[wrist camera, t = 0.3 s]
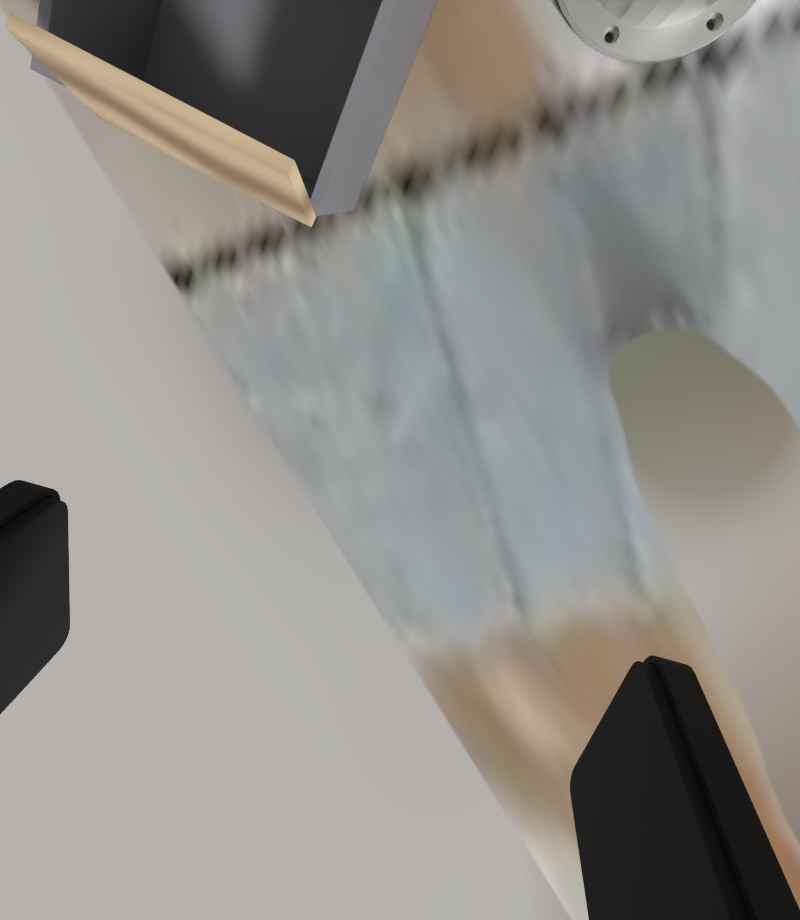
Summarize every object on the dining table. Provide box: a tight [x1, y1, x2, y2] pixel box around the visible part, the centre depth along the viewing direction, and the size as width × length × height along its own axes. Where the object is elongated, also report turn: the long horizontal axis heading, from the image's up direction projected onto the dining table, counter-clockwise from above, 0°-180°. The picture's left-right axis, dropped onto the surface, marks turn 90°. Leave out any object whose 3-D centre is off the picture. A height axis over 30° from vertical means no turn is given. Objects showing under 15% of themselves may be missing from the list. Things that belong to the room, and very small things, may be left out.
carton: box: [31, 0, 437, 216], centre depth 31 cm, size 15×16×10 cm
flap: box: [5, 13, 316, 227], centre depth 27 cm, size 8×12×1 cm
